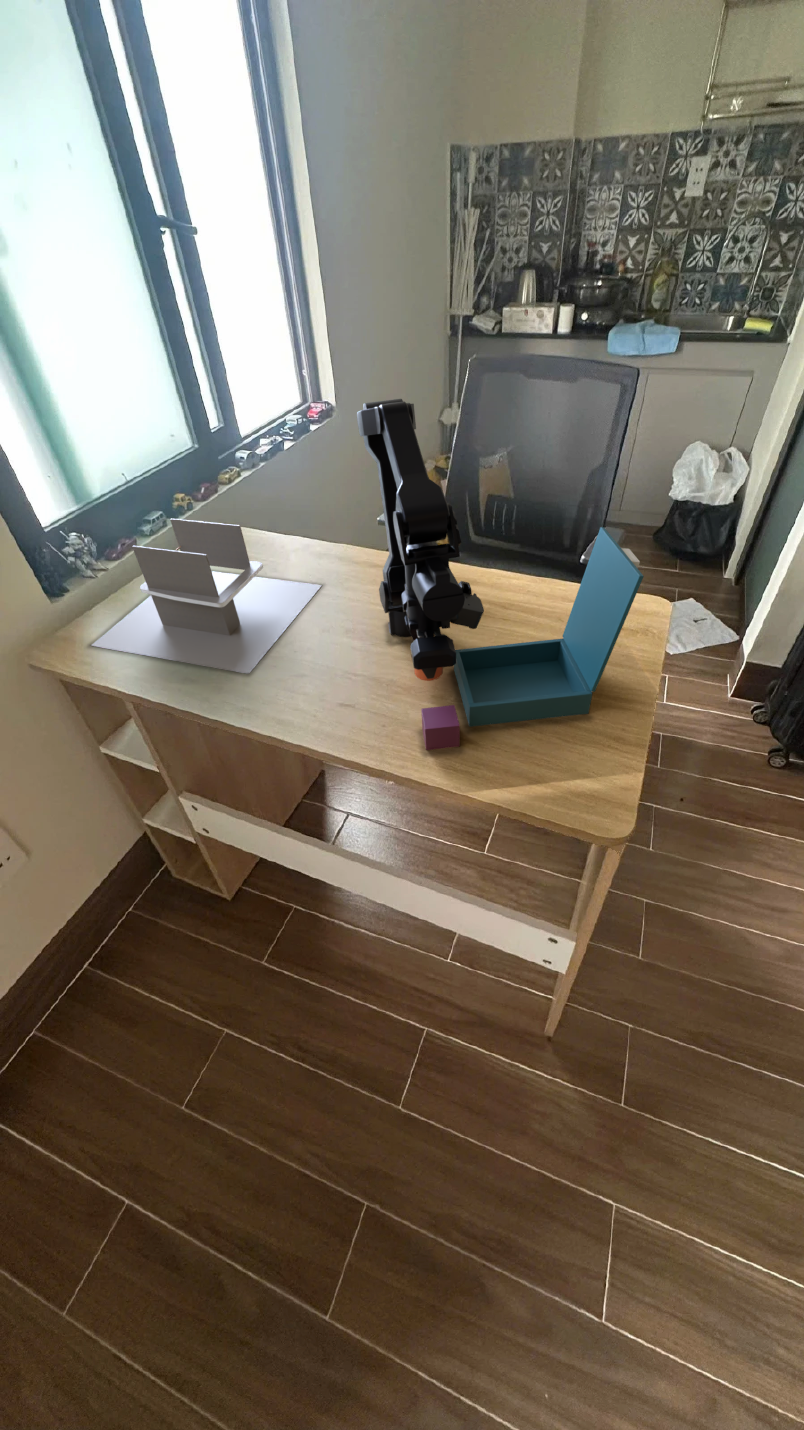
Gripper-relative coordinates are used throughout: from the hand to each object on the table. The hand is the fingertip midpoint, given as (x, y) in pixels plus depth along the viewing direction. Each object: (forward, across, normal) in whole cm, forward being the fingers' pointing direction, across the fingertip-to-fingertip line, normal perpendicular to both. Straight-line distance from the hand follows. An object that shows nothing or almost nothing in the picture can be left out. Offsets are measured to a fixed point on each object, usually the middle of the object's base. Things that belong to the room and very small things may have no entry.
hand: (428, 668), depth 97 cm
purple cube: (+4, -13, 0) cm, 14 cm away
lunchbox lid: (-11, -4, -25) cm, 27 cm away
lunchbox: (+4, -4, -14) cm, 15 cm away
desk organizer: (+4, +30, +40) cm, 51 cm away
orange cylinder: (+1, 0, 0) cm, 1 cm away
